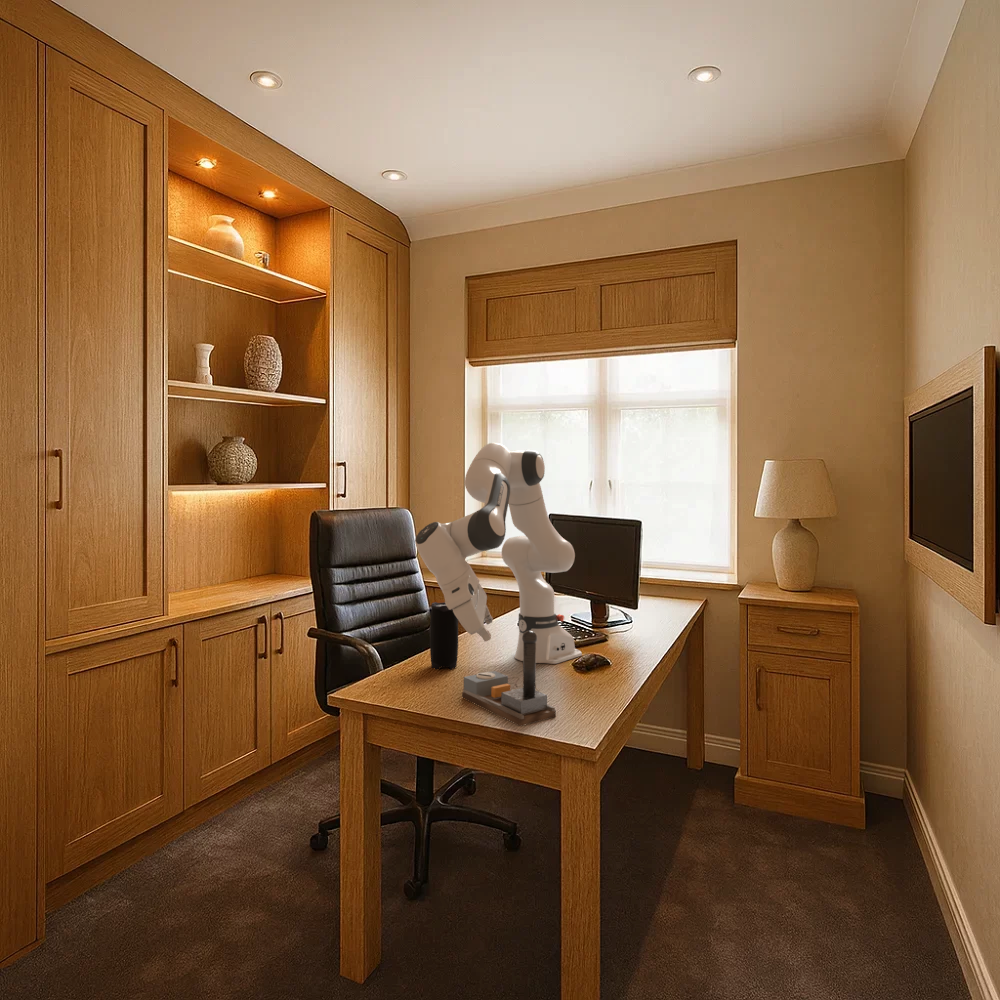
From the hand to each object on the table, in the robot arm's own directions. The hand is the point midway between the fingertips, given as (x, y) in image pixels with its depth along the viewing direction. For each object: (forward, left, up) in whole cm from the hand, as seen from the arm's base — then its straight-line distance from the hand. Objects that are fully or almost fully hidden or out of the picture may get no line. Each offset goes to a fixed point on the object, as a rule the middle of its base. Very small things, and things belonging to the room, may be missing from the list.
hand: (489, 630), depth 171 cm
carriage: (-7, +6, -19) cm, 21 cm away
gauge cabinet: (-7, -11, -19) cm, 23 cm away
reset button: (-7, -4, -18) cm, 20 cm away
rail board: (-7, -1, -21) cm, 22 cm away
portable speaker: (-13, -42, -21) cm, 48 cm away
